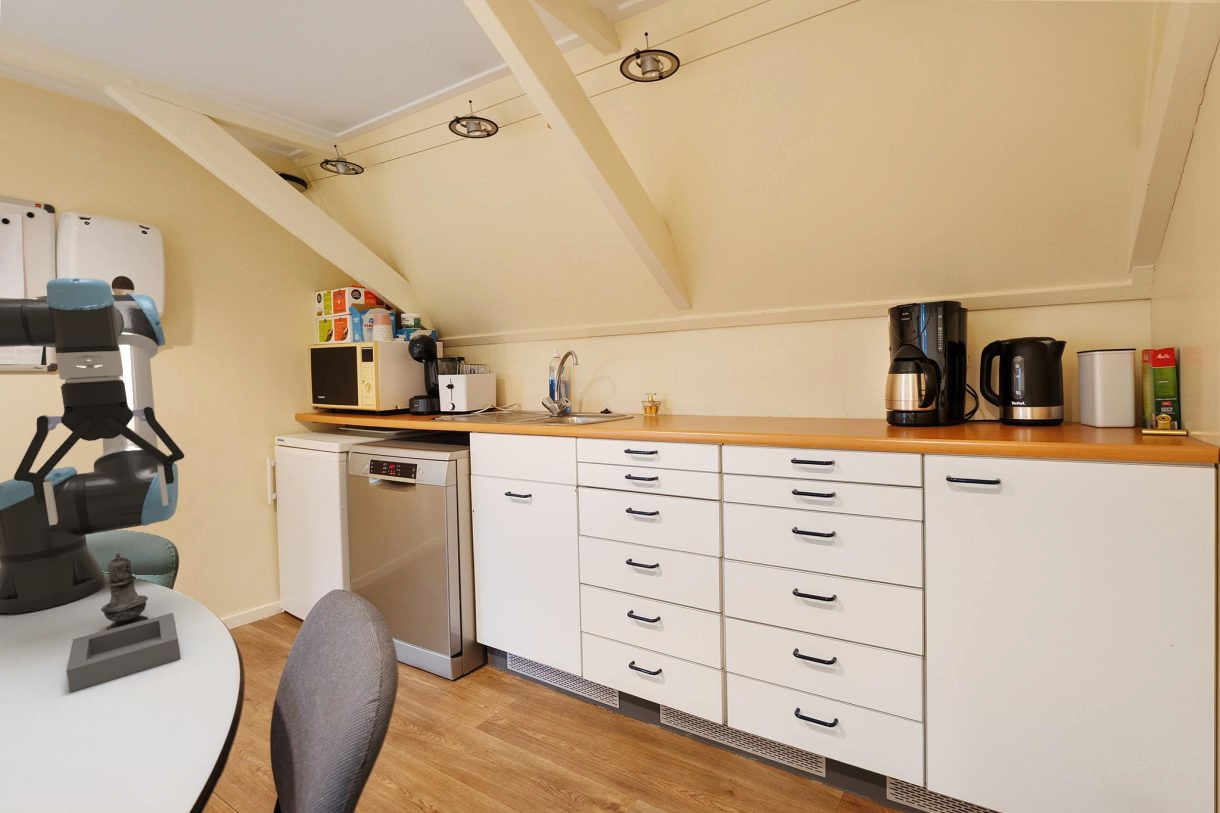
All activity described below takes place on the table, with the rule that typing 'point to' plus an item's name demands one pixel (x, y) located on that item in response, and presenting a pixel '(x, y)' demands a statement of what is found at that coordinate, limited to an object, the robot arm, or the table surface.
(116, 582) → the dark grey tall piece
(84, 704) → the table surface
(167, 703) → the table surface
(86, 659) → the grey square tray
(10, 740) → the table surface
